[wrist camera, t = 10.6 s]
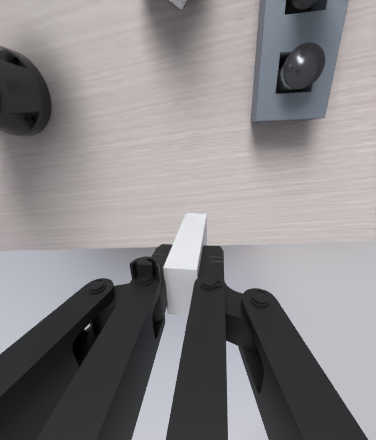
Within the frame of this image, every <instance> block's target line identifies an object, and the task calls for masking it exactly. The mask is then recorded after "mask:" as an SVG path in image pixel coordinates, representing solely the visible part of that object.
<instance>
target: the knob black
mask: <svg viewBox="0 0 376 440" xmlns="http://www.w3.org/2000/svg"><path fill="white" fill-rule="evenodd" d="M324 66H325V54H324V51H323V49H322V48H321V47H320V46H319V45H318V44H316V43H312V42H308V43H304V44H301V45H299V46H298V47H296V48H295V49H294V50H293V51H292V52H291V53H290V54H289V56H288V57H287V59H286V60H285V63H284V65H283V66H282V67H281V68H280V69H279V70H278V75H277V84H276V92H277V93H278V94H284V93H290V92H292V91H294V90H296V89H303V88H305V87H308V86H309V85H311V84H313V83H314V82H315V81H316V80H317V79H318V78H319V77H320V75H321V73H322V71H323V69H324Z"/></svg>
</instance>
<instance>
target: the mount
mask: <svg viewBox="0 0 376 440" xmlns="http://www.w3.org/2000/svg"><path fill="white" fill-rule="evenodd" d="M348 1H349V0H318V1H317V2H316V3H315V4H314V5H313V6H311V12H304V13H295V14H287V15H284V14H285V5H286V0H260V7H259V21H258V34H257V47H256V60H255V73H254V87H253V100H252V113H251V122H270V121H292V120H311V119H319V118H325V114H326V109H327V104H328V99H329V95H330V90H331V85H332V80H333V75H334V70H335V65H336V60H337V55H338V50H339V45H340V40H341V35H342V31H343V26H344V21H345V16H346V11H347V6H348ZM308 42H312V43H316V44H318V45H319V46H320V47H321V48H322V49H323V51H324V54H325V66H324V69H323V71H322V73H321V75H320V77H319V78H318V79H317V80H316V81H315V82H314V83H313V84H311V85H309V86H308V87H305V88H303V89H299V91H298V93H284V94H275V93H276V84H277V75H278V67H279V64H284V63H285V60H286V59H287V57H288V56H289V54H290V53H291V52H292V51H293V50H294V49H295V48H296V47H298V46H299V45H301V44H304V43H308Z"/></svg>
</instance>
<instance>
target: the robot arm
mask: <svg viewBox="0 0 376 440" xmlns="http://www.w3.org/2000/svg"><path fill="white" fill-rule="evenodd" d="M50 110H51V103H50V96H49V92H48V89H47V86H46V83H45V81H44V79H43V77H42V76H41V74H40V72H39V71H38V70H37V68H36V67H35V66H34V65H33V64H32V63H31V62H30V61H29V60H28V59H27V58H26V57H24V56H23V55H21V54H20V53H18V52H15V51H13V50H10V49H8V48H5V47H2V46H0V131H3V132H6V133H9V134H12V135H34V134H37V133H39V132H40V131H41V130H43V128H44V127H45V126H46V124H47V122H48V120H49V117H50ZM223 254H224V253H223V250H222V248H221V247H220V246H207V214H195V213H186V215H185V217H184V220H183V222H182V224H181V227H180V229H179V231H178V234H177V236H176V238H175V241H174V243H173V245H168V244H162V245H160V246H159V247H158V248H156V250H155V252H154V254H153V255H152V257H141V258H137V259H135V260H134V261H132V262H131V263H130V269H131V275H132V280H131V282H130V283H128V284H124V285H117V286H114V285H113V282H112V281H111V280H109V279H105V278H102V279H96V280H94V281H91V282H90V283H88V284H86V285H85V286H84V287H83V288H81V289H80V290H79V291H78V292H76V293H75V294H74V295H73V296H72V297H70V298H69V299H68V300H67V301H65V302H64V303H63V304H62V305H60V306H59V307H58V308H57V309H56V310H54V311H53V312H52V313H51V314H49V315H48V316H47V317H46V318H44V319H43V320H42V321H41V322H39V323H38V324H37V325H36V326H35V327H33V328H32V329H31V330H30V331H28V332H27V333H26V334H25V335H23V336H22V337H21V338H20V339H19V340H17V341H16V342H15V343H14V344H12V345H11V346H10V347H9V348H7V349H6V350H5V351H4V352H2V354H0V440H131V439H132V436H133V432H134V429H135V425H136V422H137V418H138V415H139V412H140V408H141V404H142V401H143V397H144V394H145V391H146V387H147V383H148V380H149V377H150V373H151V370H152V367H153V363H154V360H155V356H156V352H157V349H158V346H159V342H160V339H161V335H162V332H163V328H164V325H165V311H166V308H167V311H168V314H177V315H188V320H187V325H186V331H185V337H184V342H183V347H182V353H181V358H180V364H179V370H178V375H177V381H176V386H175V392H174V397H173V403H172V409H171V414H170V420H169V425H168V431H167V436H166V440H228V426H227V425H228V424H227V375H226V374H227V372H226V341H229V342H231V343H233V344H236V345H238V347H239V351H240V353H241V357H242V360H243V363H244V365H245V369H246V372H247V375H248V378H249V381H250V384H251V387H252V390H253V393H254V396H255V399H256V402H257V405H258V409H259V412H260V414H261V417H262V421H263V423H264V427H265V430H266V433H267V436H268V439H269V440H368V439H367V437H366V436H365V434H364V433H363V431H362V429H361V428H360V426H359V425H358V423H357V422H356V420H355V419H354V417H353V416H352V414H351V413H350V411H349V410H348V408H347V407H346V405H345V403H344V402H343V400H342V399H341V398H340V396H339V394H338V393H337V391H336V390H335V388H334V387H333V385H332V384H331V382H330V380H329V379H328V377H327V376H326V374H325V373H324V371H323V370H322V368H321V367H320V365H319V364H318V362H317V361H316V359H315V358H314V356H313V355H312V353H311V351H310V350H309V348H308V347H307V345H306V344H305V342H304V341H303V339H302V338H301V336H300V335H299V333H298V331H297V330H296V329H295V327H294V326H293V324H292V322H291V321H290V319H289V318H288V316H287V315H286V313H285V312H284V310H283V309H282V307H281V306H280V304H279V302H278V301H277V299H276V298H275V297H274V296H273V295H272V294H271V293H269V292H267V291H265V290H262V289H255V288H254V289H249V290H247V291H245V292H244V293H243V294H242V293H239V292H236V291H233V290H232V289H230V288H229V287H228V286H227V285H226V283H225V281H224V256H223ZM89 323H90V325H91V326H90V327H89V328H87V329H86V330H84V329H85V327H86V326H87V325H88V324H89Z"/></svg>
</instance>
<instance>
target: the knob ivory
mask: <svg viewBox="0 0 376 440" xmlns="http://www.w3.org/2000/svg"><path fill="white" fill-rule="evenodd" d="M317 1H318V0H291V2H292V4H293V5H294V6H295V7H296V8H298V9H307V8H310V7H311V6H313V5H314V4H315V3H316V2H317Z"/></svg>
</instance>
